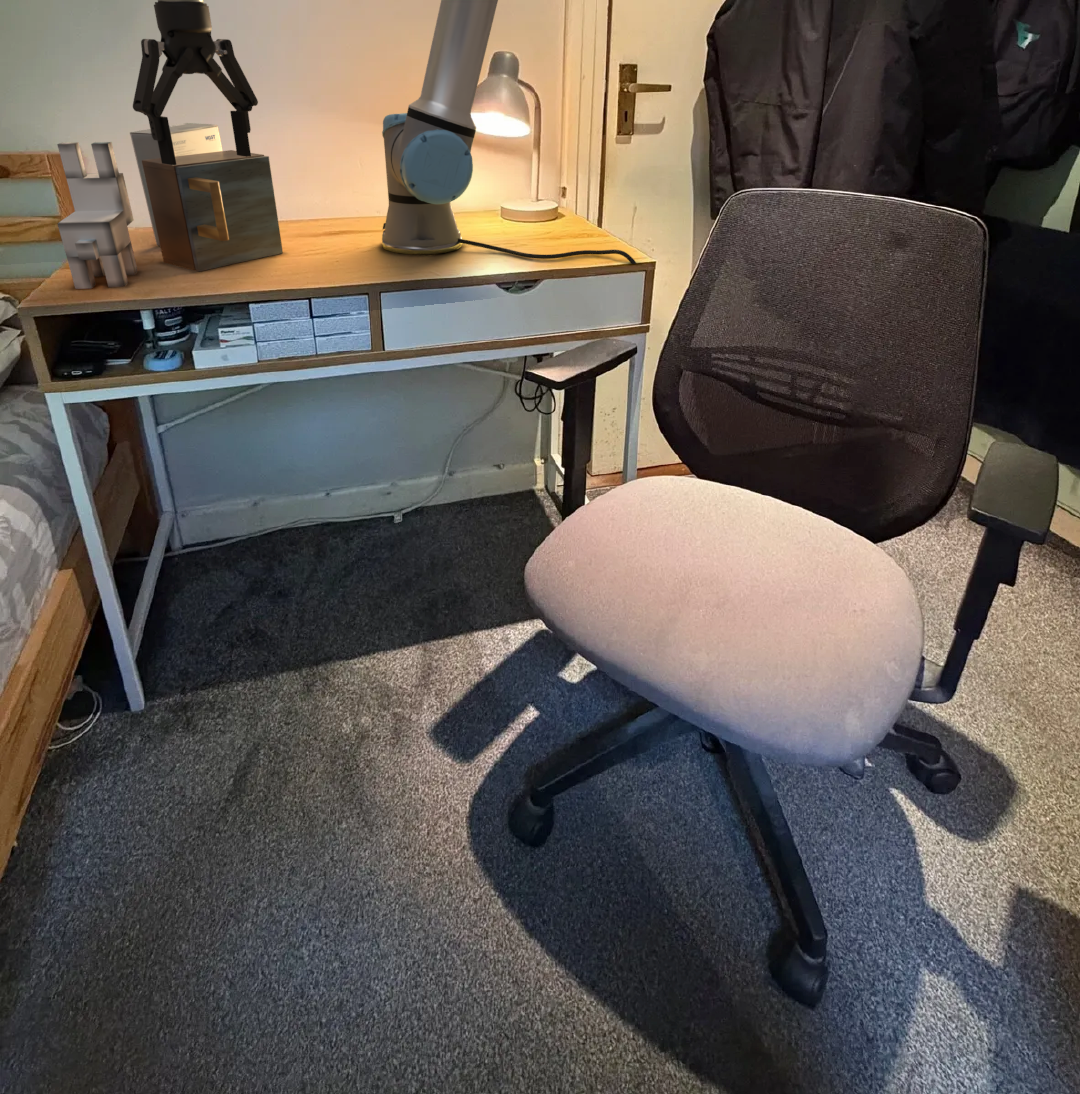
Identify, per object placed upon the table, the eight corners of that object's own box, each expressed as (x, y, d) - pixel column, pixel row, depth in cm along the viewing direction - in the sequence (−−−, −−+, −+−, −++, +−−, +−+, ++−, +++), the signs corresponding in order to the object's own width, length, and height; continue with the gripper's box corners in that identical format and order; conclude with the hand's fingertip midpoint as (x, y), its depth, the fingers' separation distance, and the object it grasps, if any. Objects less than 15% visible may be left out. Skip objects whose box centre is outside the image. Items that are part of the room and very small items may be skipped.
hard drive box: (208, 230, 174) (188, 122, 163) (239, 233, 172) (220, 124, 161) (154, 245, 162) (128, 130, 151) (186, 249, 159) (162, 132, 149)
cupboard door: (306, 258, 154) (294, 159, 145) (223, 278, 142) (203, 171, 133) (279, 252, 158) (265, 155, 149) (195, 270, 146) (174, 166, 137)
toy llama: (71, 293, 133) (32, 154, 123) (98, 266, 148) (66, 140, 137) (121, 291, 135) (87, 154, 124) (144, 264, 149) (115, 139, 139)
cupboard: (278, 252, 158) (264, 154, 149) (195, 271, 146) (173, 165, 137) (247, 245, 163) (231, 149, 154) (163, 262, 151) (141, 160, 142)
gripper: (237, 2, 133) (258, 150, 144) (83, -3, 116) (120, 165, 127) (267, 3, 129) (286, 154, 141) (113, -3, 112) (148, 170, 123)
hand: (208, 159), depth 134 cm, fingers open, 13 cm apart
